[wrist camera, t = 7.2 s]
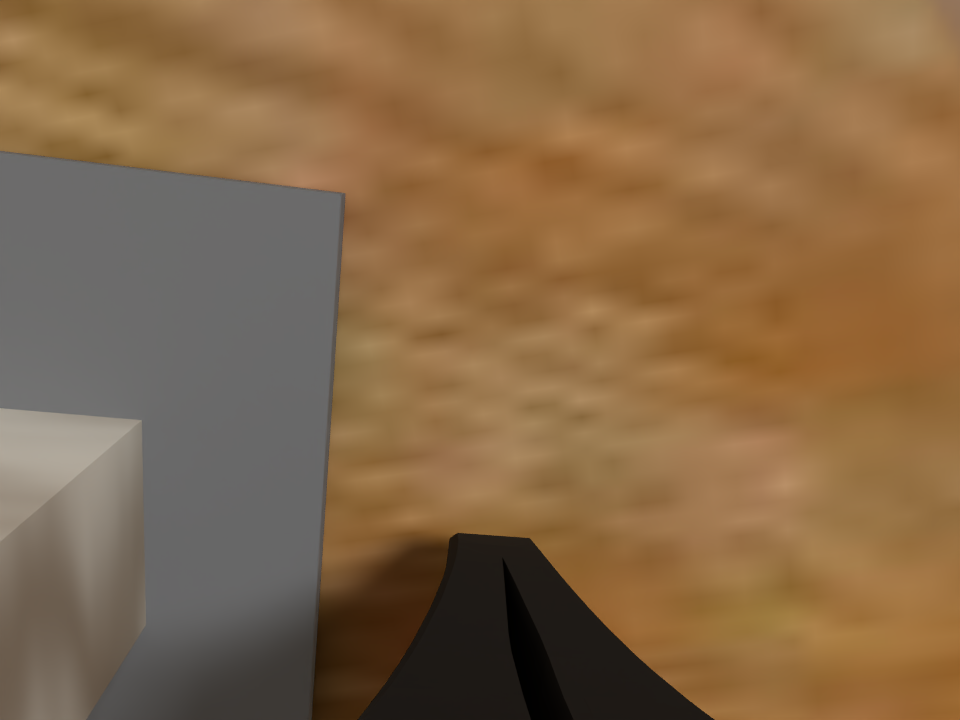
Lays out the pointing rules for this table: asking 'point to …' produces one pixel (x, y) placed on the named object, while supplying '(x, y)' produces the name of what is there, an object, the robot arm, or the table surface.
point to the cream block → (68, 559)
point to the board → (190, 405)
